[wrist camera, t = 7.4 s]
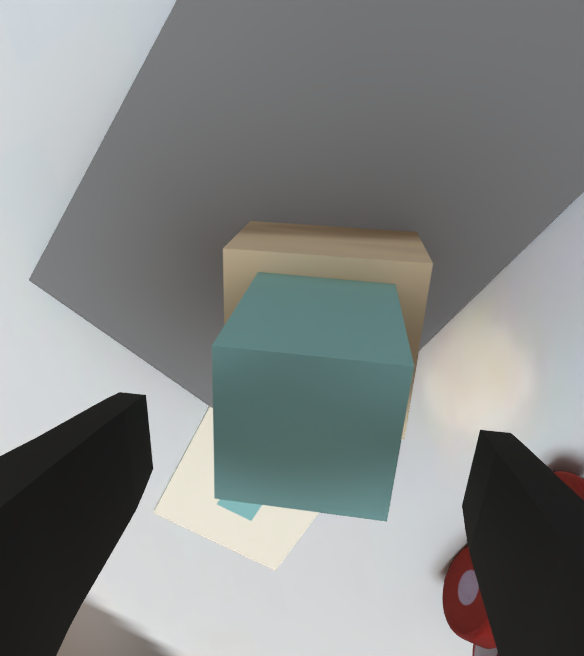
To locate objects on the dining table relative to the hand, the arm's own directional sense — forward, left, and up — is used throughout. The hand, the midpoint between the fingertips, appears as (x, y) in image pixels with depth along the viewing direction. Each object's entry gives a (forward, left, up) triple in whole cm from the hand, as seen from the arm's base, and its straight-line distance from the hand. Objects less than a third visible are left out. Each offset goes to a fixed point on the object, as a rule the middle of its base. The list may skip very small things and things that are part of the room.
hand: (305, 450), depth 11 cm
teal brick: (0, 0, -5) cm, 5 cm away
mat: (-3, -3, -9) cm, 10 cm away
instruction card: (+9, +3, -9) cm, 13 cm away
